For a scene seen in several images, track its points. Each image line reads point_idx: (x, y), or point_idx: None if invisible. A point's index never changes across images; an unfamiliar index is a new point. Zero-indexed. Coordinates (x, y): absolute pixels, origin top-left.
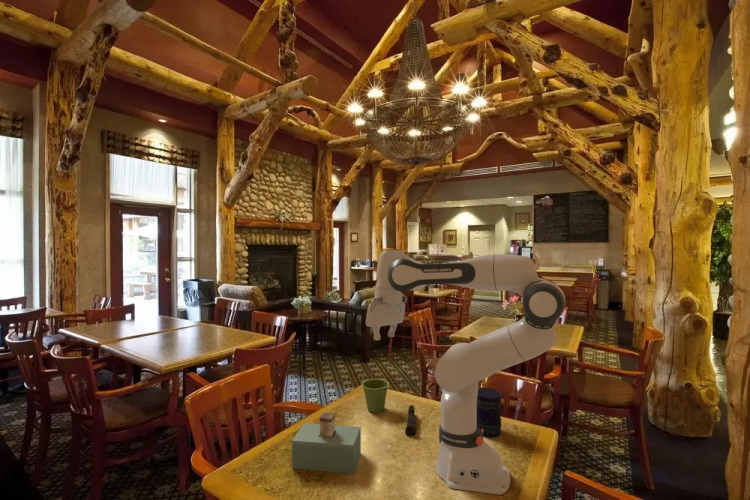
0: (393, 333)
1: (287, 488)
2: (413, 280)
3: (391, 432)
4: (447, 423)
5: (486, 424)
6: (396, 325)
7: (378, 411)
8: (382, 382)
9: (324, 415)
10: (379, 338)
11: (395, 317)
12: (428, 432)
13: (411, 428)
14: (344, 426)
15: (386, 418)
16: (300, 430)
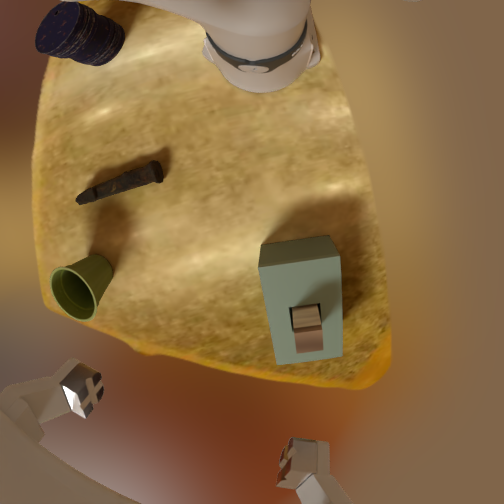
0: (69, 377)
1: (379, 309)
2: None
3: (164, 212)
4: (300, 31)
5: (111, 31)
6: (6, 396)
7: (107, 261)
8: (55, 283)
9: (310, 346)
10: (308, 447)
11: (2, 486)
12: (136, 140)
13: (155, 170)
14: (267, 299)
15: (119, 239)
16: (305, 359)
